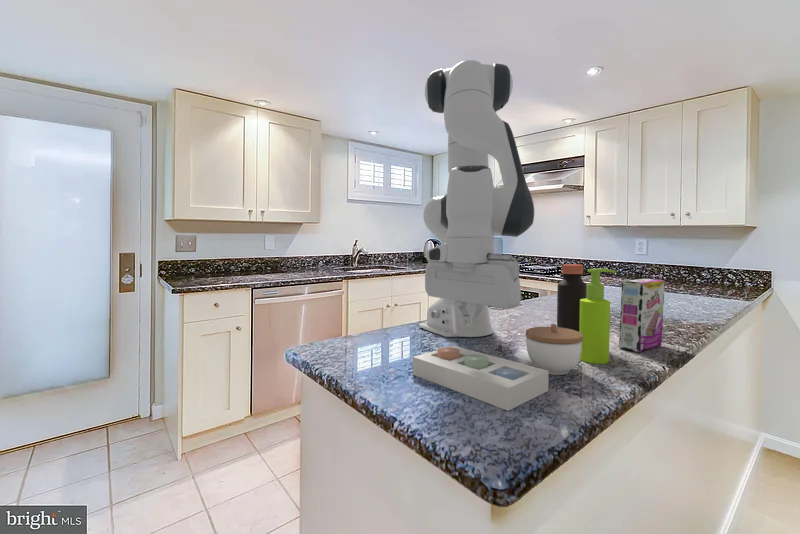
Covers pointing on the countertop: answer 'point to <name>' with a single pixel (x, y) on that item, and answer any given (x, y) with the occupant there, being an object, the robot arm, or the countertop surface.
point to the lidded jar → (554, 348)
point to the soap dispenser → (595, 321)
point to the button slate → (509, 373)
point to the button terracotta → (448, 353)
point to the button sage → (476, 361)
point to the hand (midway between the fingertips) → (468, 325)
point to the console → (483, 378)
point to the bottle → (570, 296)
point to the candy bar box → (641, 314)
